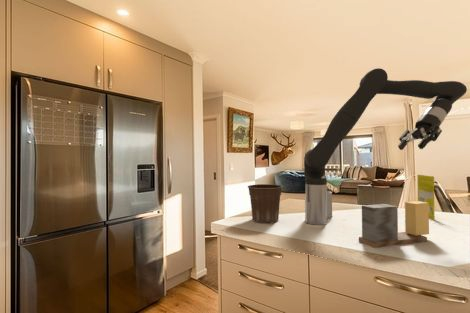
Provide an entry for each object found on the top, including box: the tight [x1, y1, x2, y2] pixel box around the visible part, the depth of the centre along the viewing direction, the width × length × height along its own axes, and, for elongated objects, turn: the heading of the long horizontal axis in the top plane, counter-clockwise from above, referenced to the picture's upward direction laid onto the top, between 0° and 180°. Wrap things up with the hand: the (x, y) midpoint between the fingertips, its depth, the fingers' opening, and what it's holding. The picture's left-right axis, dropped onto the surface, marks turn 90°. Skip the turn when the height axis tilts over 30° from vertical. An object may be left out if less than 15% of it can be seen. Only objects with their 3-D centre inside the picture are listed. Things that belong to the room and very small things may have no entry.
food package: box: [417, 174, 435, 220], centre depth 127 cm, size 15×1×20 cm, turn 168°
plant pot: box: [247, 183, 283, 224], centre depth 121 cm, size 16×16×16 cm
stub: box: [404, 200, 430, 236], centre depth 92 cm, size 6×4×11 cm, turn 106°
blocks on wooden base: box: [358, 203, 428, 249], centre depth 89 cm, size 22×7×12 cm, turn 106°
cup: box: [327, 190, 333, 219], centre depth 129 cm, size 9×9×12 cm
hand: (409, 148), depth 102 cm, fingers open, 8 cm apart
